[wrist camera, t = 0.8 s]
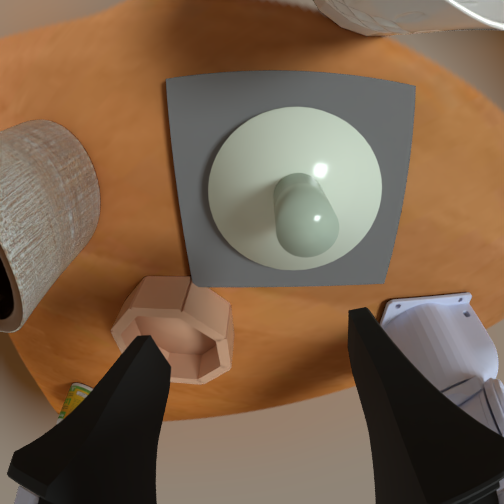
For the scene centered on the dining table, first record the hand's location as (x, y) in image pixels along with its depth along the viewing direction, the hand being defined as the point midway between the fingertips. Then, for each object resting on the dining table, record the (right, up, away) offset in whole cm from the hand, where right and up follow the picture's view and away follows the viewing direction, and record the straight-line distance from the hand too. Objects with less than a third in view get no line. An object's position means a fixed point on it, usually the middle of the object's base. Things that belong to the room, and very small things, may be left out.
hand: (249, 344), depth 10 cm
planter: (-15, +8, +7) cm, 19 cm away
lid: (+3, +7, +7) cm, 10 cm away
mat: (+3, +7, +7) cm, 10 cm away
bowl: (-6, -2, +13) cm, 15 cm away
